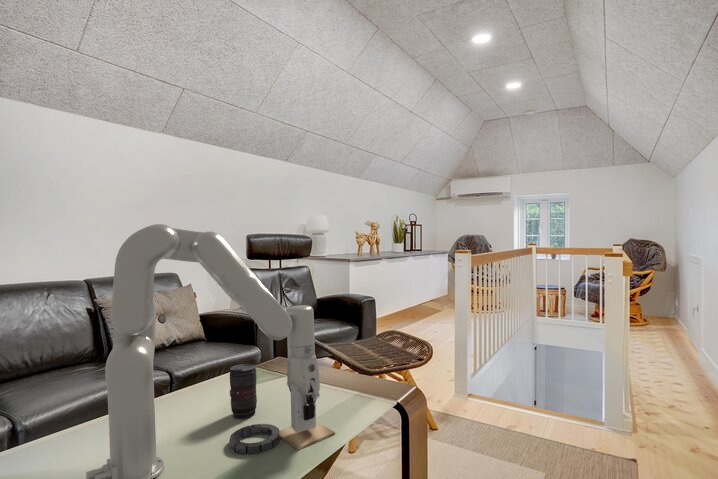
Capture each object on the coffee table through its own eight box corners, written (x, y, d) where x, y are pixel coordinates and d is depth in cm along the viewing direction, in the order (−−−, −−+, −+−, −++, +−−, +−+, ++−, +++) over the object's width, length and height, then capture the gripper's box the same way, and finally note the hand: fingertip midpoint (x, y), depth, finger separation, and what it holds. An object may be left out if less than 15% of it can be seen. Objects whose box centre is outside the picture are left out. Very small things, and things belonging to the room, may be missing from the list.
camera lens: (250, 420, 124) (248, 371, 124) (226, 419, 125) (224, 370, 125) (262, 409, 132) (260, 363, 132) (239, 408, 133) (237, 362, 133)
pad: (298, 449, 105) (298, 447, 105) (274, 434, 114) (274, 432, 114) (335, 434, 113) (335, 431, 113) (310, 420, 122) (310, 418, 122)
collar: (243, 460, 101) (243, 452, 101) (222, 442, 111) (221, 434, 111) (288, 441, 110) (288, 434, 110) (265, 426, 119) (265, 419, 119)
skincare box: (296, 433, 110) (294, 388, 110) (290, 426, 114) (289, 383, 114) (317, 427, 113) (315, 384, 113) (311, 421, 117) (309, 379, 117)
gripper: (330, 353, 110) (332, 420, 110) (296, 342, 123) (298, 403, 122) (307, 359, 105) (309, 430, 105) (274, 347, 118) (276, 410, 117)
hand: (303, 415), depth 113 cm, fingers closed on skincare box, 5 cm apart
